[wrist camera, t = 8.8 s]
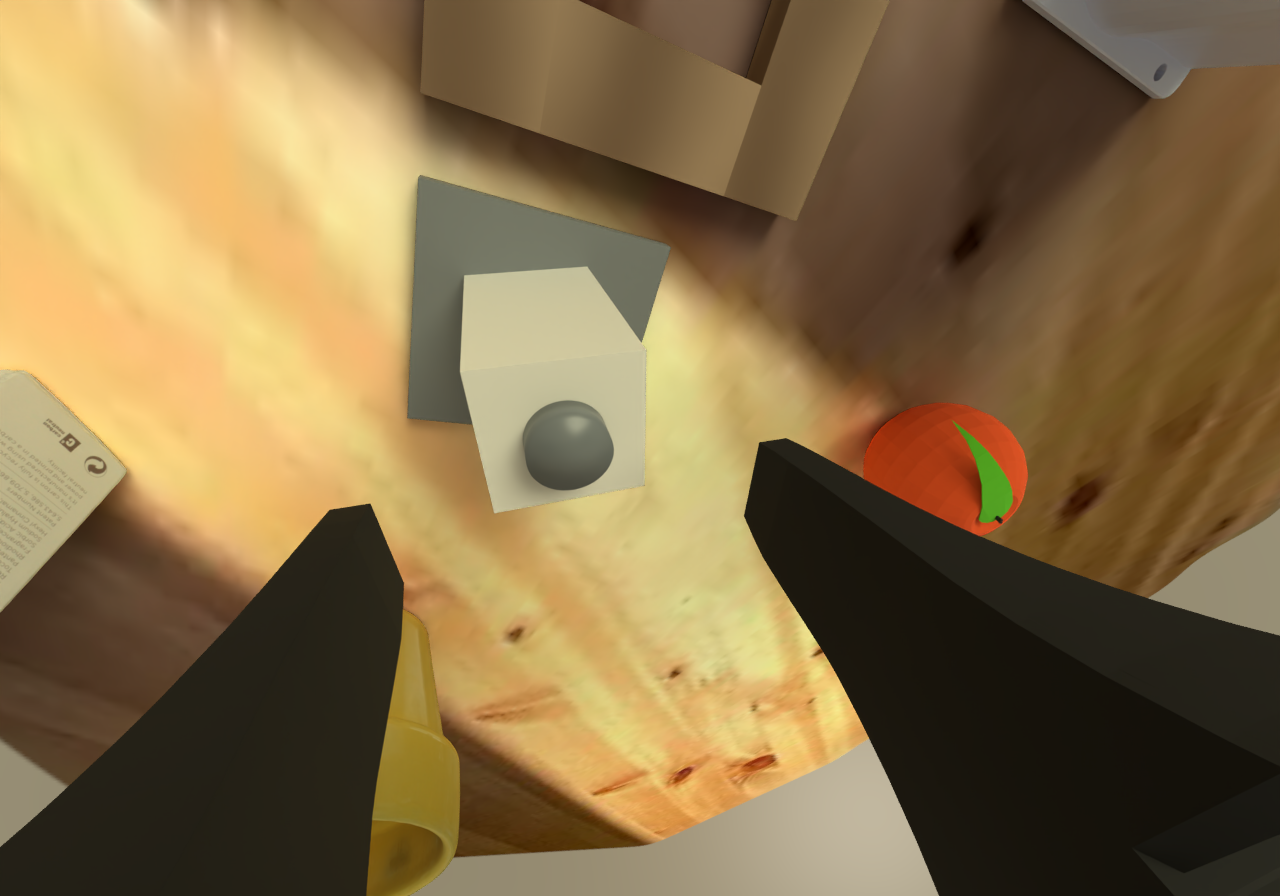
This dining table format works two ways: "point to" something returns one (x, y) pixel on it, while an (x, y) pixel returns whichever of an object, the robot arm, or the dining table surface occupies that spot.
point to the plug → (552, 387)
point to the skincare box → (44, 478)
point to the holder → (659, 88)
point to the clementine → (950, 465)
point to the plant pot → (413, 779)
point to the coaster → (497, 243)
